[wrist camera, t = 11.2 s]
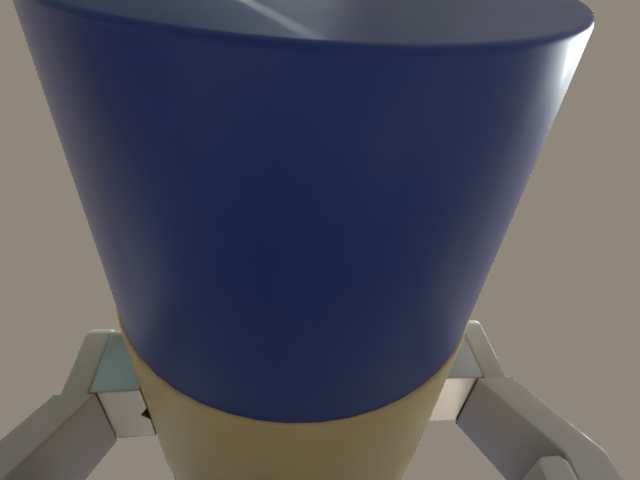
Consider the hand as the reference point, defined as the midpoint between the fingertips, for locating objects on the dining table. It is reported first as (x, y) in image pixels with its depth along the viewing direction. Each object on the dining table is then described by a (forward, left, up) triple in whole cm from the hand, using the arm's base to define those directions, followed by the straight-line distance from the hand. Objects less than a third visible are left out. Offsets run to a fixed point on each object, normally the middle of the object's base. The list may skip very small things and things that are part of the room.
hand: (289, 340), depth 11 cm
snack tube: (-1, 0, -8) cm, 8 cm away
